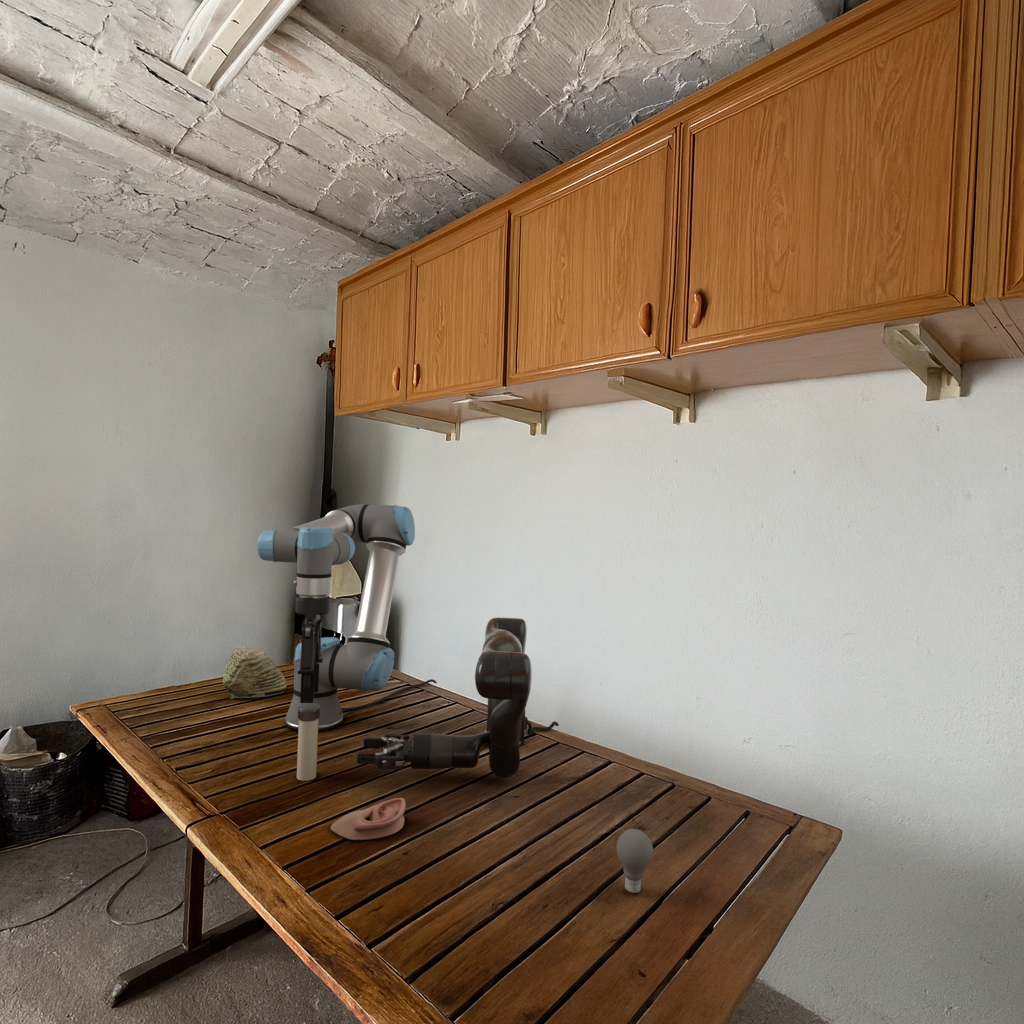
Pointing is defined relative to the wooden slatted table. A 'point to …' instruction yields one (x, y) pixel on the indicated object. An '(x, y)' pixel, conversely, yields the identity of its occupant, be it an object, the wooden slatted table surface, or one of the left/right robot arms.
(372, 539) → the left robot arm
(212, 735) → the wooden slatted table surface
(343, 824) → the anatomical model
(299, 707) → the lid
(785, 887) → the wooden slatted table surface
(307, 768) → the beige cylinder
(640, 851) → the light bulb
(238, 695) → the fossil
